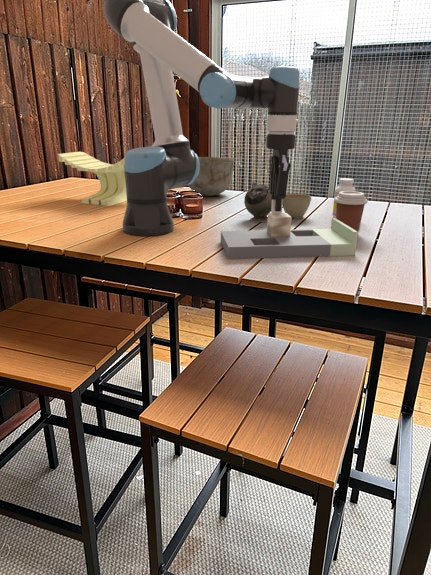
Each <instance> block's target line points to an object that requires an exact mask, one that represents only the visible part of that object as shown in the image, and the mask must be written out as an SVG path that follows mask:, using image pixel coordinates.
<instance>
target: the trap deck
mask: <svg viewBox="0 0 431 575" xmlns="http://www.w3.org/2000/svg"><path fill="white" fill-rule="evenodd" d="M358 235H359V232H357V231H356V230H354V229H352V228H351V227H349V226H347V225H346V224H344V223H343V222H341V221H339V220H338V219H336V218H334V217H333V218H332V217H331V226H330V228H311V229H310V228H307V229H306V228H305V229H291V232H290V236H271V235H270V234H269V233H268V232H267V229H265V230H264V229H261V230H257V229H256V230H221V231H220V244H221V246H222V248H223V251H224V253H225V255H226V257H227V259H228V260H239V259H242V260H244V259H276V258H277V259H279V258H310V257H311V258H313V257H315V258H316V257H345V256H356V250H357V242H358Z"/></svg>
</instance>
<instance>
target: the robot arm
mask: <svg viewBox="0 0 431 575" xmlns="http://www.w3.org/2000/svg"><path fill="white" fill-rule="evenodd" d="M103 2H104V3H103V12H104V13H103V14H104V17H105V20H106V22H107V24H108V26H110V28H111V29H112V30H113V31H114V32H115V33H116V34H118V35H119V36H120V37H121V38H123V39H124V40H126V41H127V42H129V43H132V47H133V50H134V51H135V52H137V53H138V54H139V58H140V62H141V67H142V68H141V69H142V73H143V79H144V80H143V81H144V84H145V91H146V95H147V100H148V106H149V113H150V116H151V123H152V128H153V133H154V142H153V143H152V145H151V146H144V147H141V146H140V147H136V148H132V149H129V150H128V151H126V152H125V154H124V170H125V182H126V195H127V201H126V208H125V211H124V216H123V218H122V219H123V220H122V231H123V232H124V233H125V234H128V235H131V236H141V237H142V236H143V237H146V236H149V237H150V236H161V235H165V234H169V233H171V232H172V231H174V224H175V222H174V219H173V217H172V214H171V211H170V207H169V206H168V193H167V191H170V190H176V189H181V188H185V187H186V186H187V187H188V185H190V184H191V183H193V182H194V181H195V179H196V178H197V176H198V174H199V170H200V162H199V158H198V157H199V156H198V154H197V153H195V151H194V150H193V149H191V145H190V140H189V139H188V138H186V137H185V136H184V134H183V127H182V120H181V115H180V109H179V104H178V97H177V96H178V95H177V90H176V84H175V78H174V74H176V75H177V76H178V77H179V78H180V79H182V80H183V81H184V82H186V83H187V84H188V85H189V86H191V87H192V88H193V89H194V90H196V91H197V92H198V93H199V95H200V98H201V100H202V102H203V103H204V104H205V105H207V106H208V107H210V108H214V109H236V110H243V109H267V115H266V116H267V118H266V119H267V122H266V132H268V134H267V135H266V141H265V142H266V143H265V144H266V149H268V150H272V155H270V158H269V160H268V161H269V185H270V194H272V195H271V199H272V206H271V212H270V213H283V198H285V197H286V194H287V189H288V182H289V174H290V169H291V166H292V165H291V163H290V162H289V161H290V157H289V155H288V151H289V150H294V149H295V147H296V134H294V133H295V132H296V131H297V124H298V123H299V119H298V118H297V117H298V108H299V106H298V105H299V96H300V94H299V93H300V89H301V86H300V70H299V68H298V67H295V66H273V67H271V68H270V69H269V74H268V76H244V75H243V76H242V75H237V74H236V75H235V74H231V73H229V72H228V71H226V70H225V69H223V68H222V67H221V66H219V65H218V64H217V63H216V62H214V61H213V60H212V59H211V58H209V57H208V56H206V54H204V53H203V52H201V51H200V49H197V48H196V47H195V46H194V45H192V44H191V43H190V42H188V41H187V40H186V39H184V38H183V37H181V36H180V35H179V34H177V33H176V32H175V31H176V30H177V27H178V19H177V18H178V16H177V14H176V9H175V7H174V5H173V4H172V3H171V1H170V0H104V1H103Z"/></svg>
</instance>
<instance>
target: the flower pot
mask: <svg viewBox="0 0 431 575" xmlns="http://www.w3.org/2000/svg"><path fill="white" fill-rule="evenodd" d="M311 201H312V196H311V195H308V194H302V193H286V197H285V198H283V205H282V209H283V211H284V213H287V214H288V215H290V216H291V217H292V218H291V219H297V220H298V219H302V218H303V217H304V216H305V214H306V213H307V211H308V210H309V208H310V204H311Z"/></svg>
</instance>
